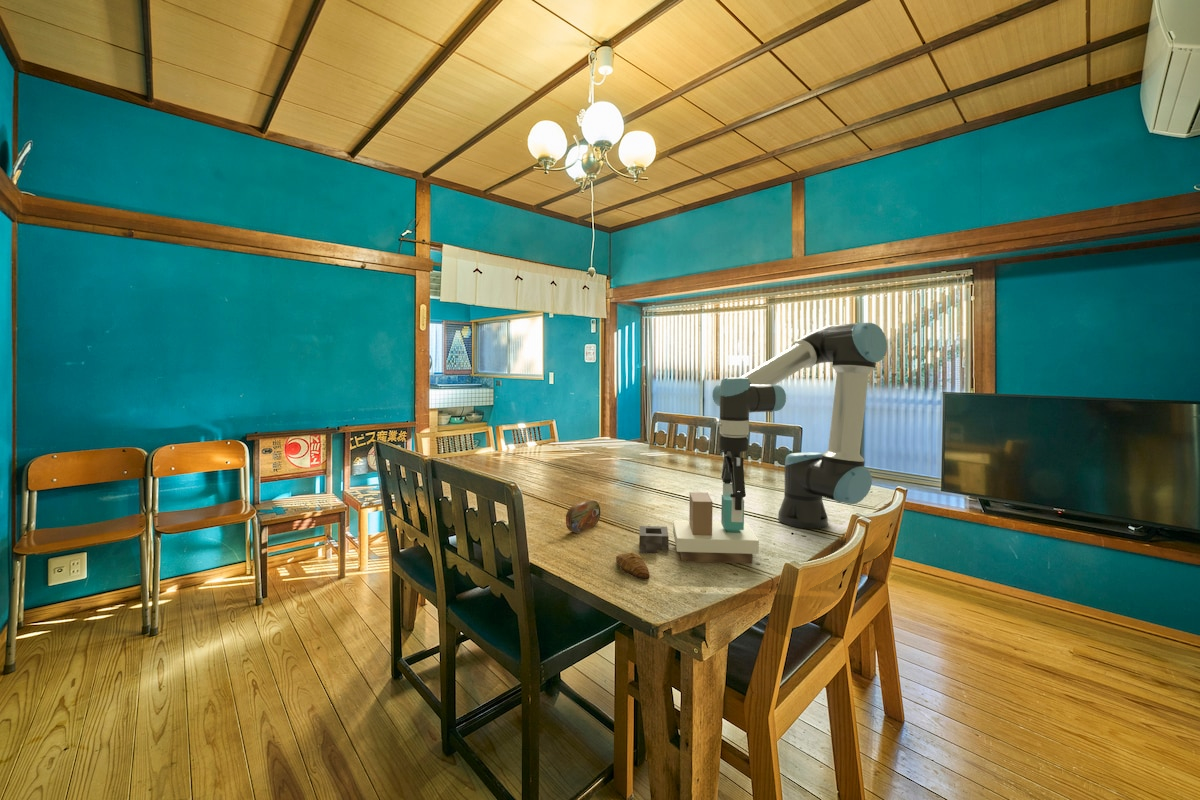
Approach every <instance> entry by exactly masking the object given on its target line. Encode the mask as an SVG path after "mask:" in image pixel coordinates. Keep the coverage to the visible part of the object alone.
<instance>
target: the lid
mask: <svg viewBox="0 0 1200 800" xmlns="http://www.w3.org/2000/svg"><path fill="white" fill-rule="evenodd" d="M713 503H714V502H713V500H712V498H711V496H710V494H709V493H708V492H694V491H693V492H691V491H689V510H688V511H689V516H688V517H689V520H683V519H681V520H676V519H674V520H673V521H672V524H673V526H672V527H673V528H672V532H673V538H674V543H675V544H674V545H675V548H676V552H679V553H680V552H707V553H742V554H752V555H759V554H760V551H759V550H760V549H759V548H760V541H759V539H758V537H757V536H756V534H755V533H754V531H753V529H752V528H751V526H750V525H749V524H748V522H747V521H744V530H739V533H727V532H726V530H724V528H723V526H722V524H721V520H719V521H718V520H713V507H714V505H713Z"/></svg>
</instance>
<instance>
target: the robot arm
mask: <svg viewBox="0 0 1200 800" xmlns="http://www.w3.org/2000/svg"><path fill="white" fill-rule="evenodd" d="M887 351H888V340H887V337H886V334H885V332H884V331H883V329H882V328H881V326H879V325H878V324H876V323H874V322H855V323H846V324H845V323H844V324H836V325H828V326H824V327H821V328H818V329H816V330H814V331H812V332H810V333H808V334H806V335H804V336H802V337H801V338H799V339H797V340H795V341H794V342H792V344H791V347H789V348H788V349H786V350H784V351H783V352H780V353H779V354H777V355H775V356H774V357H772V358H771V359H768V360H767V361H765V362H763V363H761V364H760V365H758V366H757V367H754V368H753V369H752V370H749V371H748V372H746V373H745V374H743V375H741V376H740V377H723V378H722V379H721V381H720V382H719V383H718V384H716V385H715V387H714V388H713V390H712V394H711V395H712V400H713V402H714V403H715V404H716V406H718V407H719V422H718V423H716V424H717V427H719V434H720V435H719V436H718V438H719V439H718V448H719V450H721V451H723V461H722V469H721V476H720V477H721V479H722V481H721V482H722V495H730V497H732V515H731V521H732V522H743V499H744V498H745V497H747V496H746V495H747V494H746V485H745V471H744V459H745V458H744V457H741V453H742V452H743V453H744V452H747V451H748V450H749V437H748V435H749V434H750V432H749V431H750V413H772V412H778V411H779V412H780V411H781V410H782V409H783V408H784V406H785V405H786V403H787V394H786V392H785V389H784V388H783V387H782V386H781V385H778V384H779V383H781V382H782V381H784V380H786V379H787V378H789V377H790V376H792V375H793V374H796V373H797V372H799V371H800V370H801V369H804V368H805V369H806V368H808V369H809V368H812V367H814V366H815V365H818V364H825V363H831V367H832V369H834V371H835V372H836V375H835V376H836V377H835V385H834V386H835V387H834V395H833V402H832V412H831V413H832V415H831V421H830V430H829V431H830V432H829V439H828V449H827V450H826V451H825V452H816V451H815V452H814V451H813V452H811V451H810V452H808V451H807V452H806V451H805V452H793V453H789V454H787V455H786V456H785V463H784V496H783V498H782V499H783V500H782V502H781V505H780V507H779V510H778V516H777V517H778V521H779V522H780V523H782V524H784V525H787V526H790V527H794V528H799V529H809V530H810V529H811V530H813V529H815V530H817V529H823V528H826V527H828V523H829V522H828V520H829V517H828V515H827V511H826V508H825V504H824V502H823V498H826V499H830V500H832V501H835V502H838V503H843V504H847V505H856V504H858V503H860V502H862V501H864V498H866V497H867V496H868V494H869V492H870V490H871V487H872V484H873V477H872V475H871V471H870V470H869V469H868V468H867V467H866V466H865V464H866V463H865V459H864V458H863V456H862V455H861V446H862V445H861V444H862V436H863V428H864V419H865V418H864V417H865V409H866V403H867V402H866V401H867V391H868V385H869V384H868V383H869V382H868V381H869V376H870V374H871V373H872V372H874V371H875V370H876V363H879V362H880V361H882V360H883V359H884V358H885V356H886V355H887Z"/></svg>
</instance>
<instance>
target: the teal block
mask: <svg viewBox="0 0 1200 800" xmlns="http://www.w3.org/2000/svg"><path fill="white" fill-rule="evenodd" d="M731 515H732V497H730V495H723V494H721V515H720V516H721V517H720V521H721V524H722V526H723V528H724V530H726V532H727V533H739V530H744V522H745V500H744V498H743V522H732V521H731Z"/></svg>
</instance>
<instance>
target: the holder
mask: <svg viewBox="0 0 1200 800" xmlns="http://www.w3.org/2000/svg"><path fill="white" fill-rule="evenodd" d="M638 533H639V540H638V541H639V542H638V543H639V545H638V546H639V552H638V553H639V554H653V555H654V554H658V553H659V552H658V551H669V543H670V542H669V541H670V540H669V537H670V536H669V531H668V527H667V526H656V525H655V526H654V525H652V526H651V525H650V526H648V525H639V532H638Z"/></svg>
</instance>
